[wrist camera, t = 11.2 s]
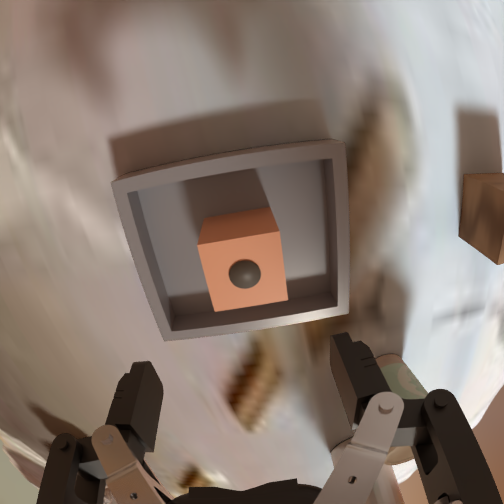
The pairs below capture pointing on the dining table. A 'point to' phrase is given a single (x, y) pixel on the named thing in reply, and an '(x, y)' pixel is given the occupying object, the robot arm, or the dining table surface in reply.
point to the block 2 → (484, 214)
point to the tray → (231, 201)
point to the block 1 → (242, 259)
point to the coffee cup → (404, 387)
